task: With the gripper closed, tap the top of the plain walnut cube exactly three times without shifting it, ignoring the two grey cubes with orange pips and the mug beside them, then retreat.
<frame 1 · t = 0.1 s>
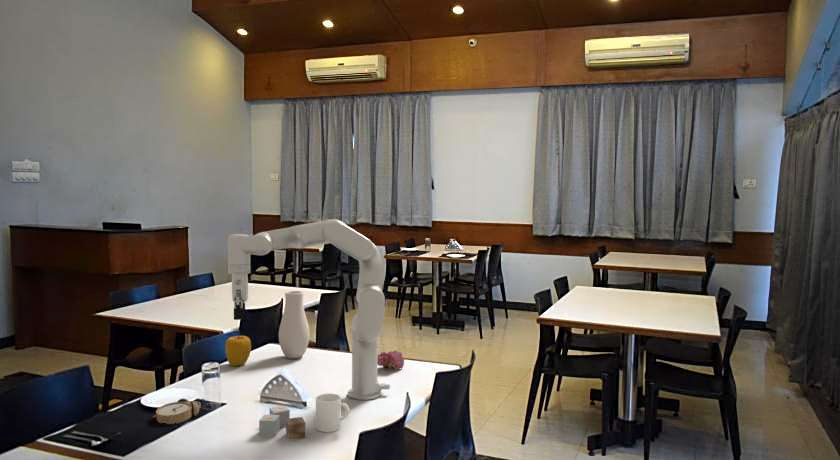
hand: (239, 316, 215), 31 cm above the table, fingers open, 9 cm apart
block one: (269, 433, 191), on the table
alarm clock: (179, 417, 203), on the table
apple: (238, 365, 263), on the table
block two: (279, 424, 198), on the table
flower: (389, 369, 261), on the table
plain block: (295, 436, 188), on the table
mug: (333, 429, 195), on the table
vase: (294, 357, 276), on the table
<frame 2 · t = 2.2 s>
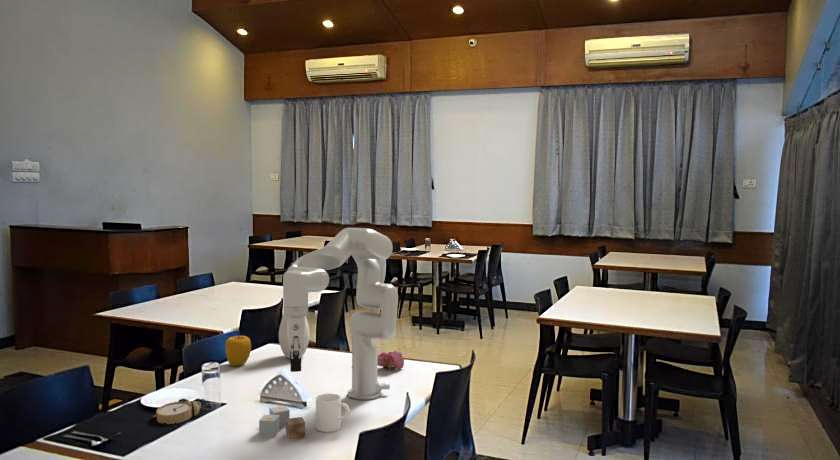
hand: (295, 367, 187), 22 cm above the table, fingers open, 7 cm apart
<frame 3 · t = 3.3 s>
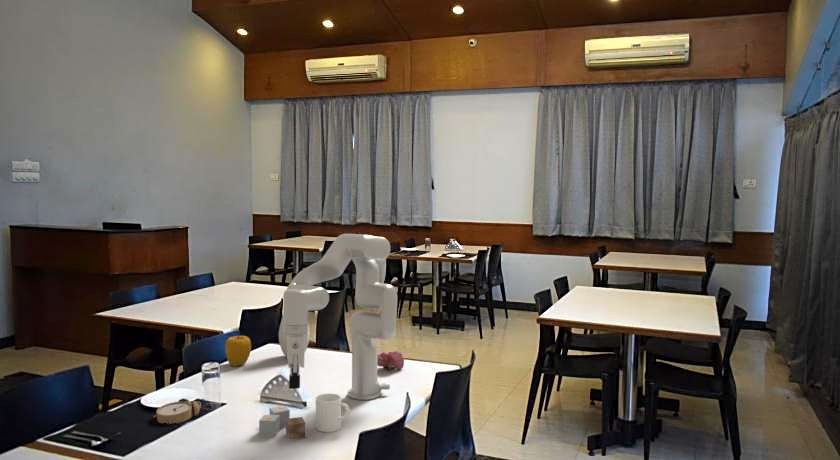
hand: (294, 387, 187), 16 cm above the table, fingers closed
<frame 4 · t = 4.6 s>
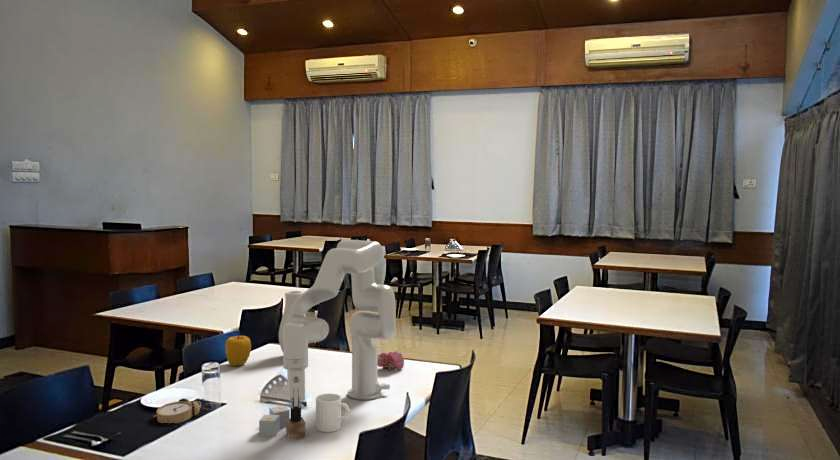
hand: (295, 419, 188), 5 cm above the table, fingers closed
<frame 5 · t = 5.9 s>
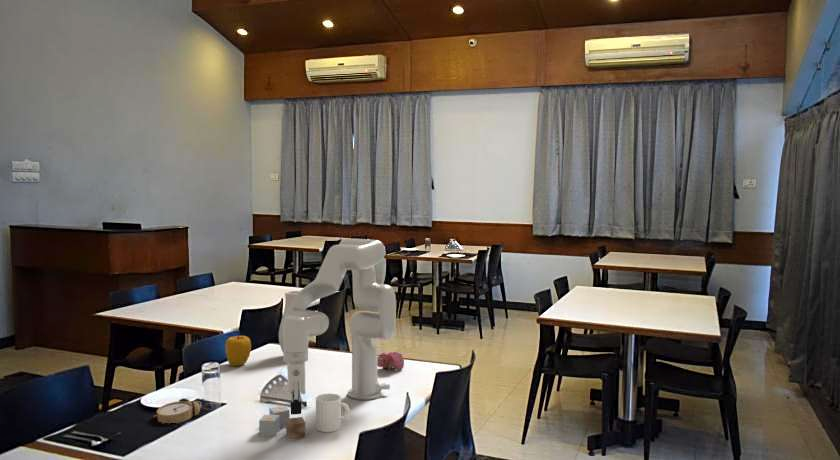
hand: (296, 413, 188), 7 cm above the table, fingers closed
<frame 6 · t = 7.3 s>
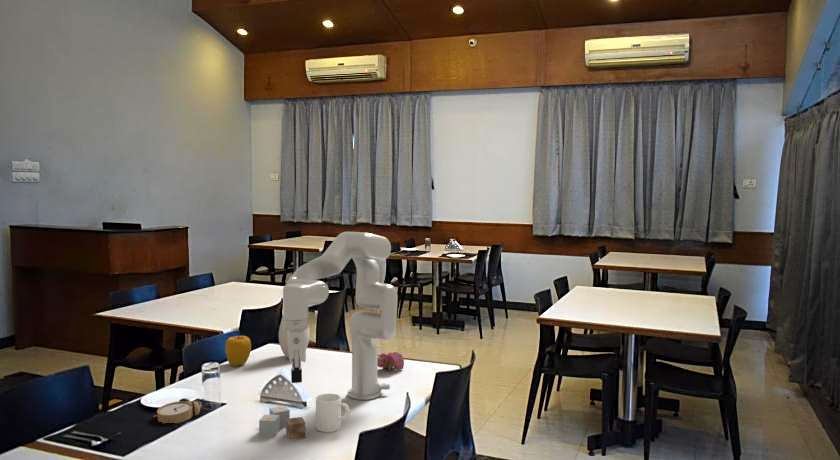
hand: (296, 381, 188), 17 cm above the table, fingers closed
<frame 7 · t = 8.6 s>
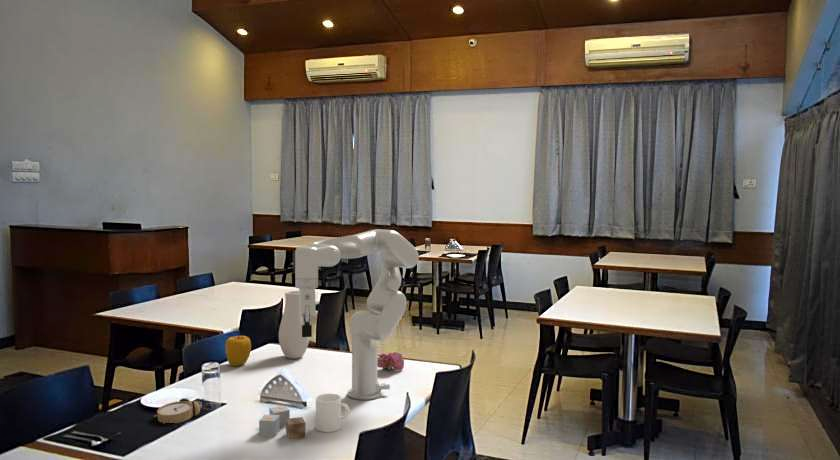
hand: (306, 336, 205), 27 cm above the table, fingers closed
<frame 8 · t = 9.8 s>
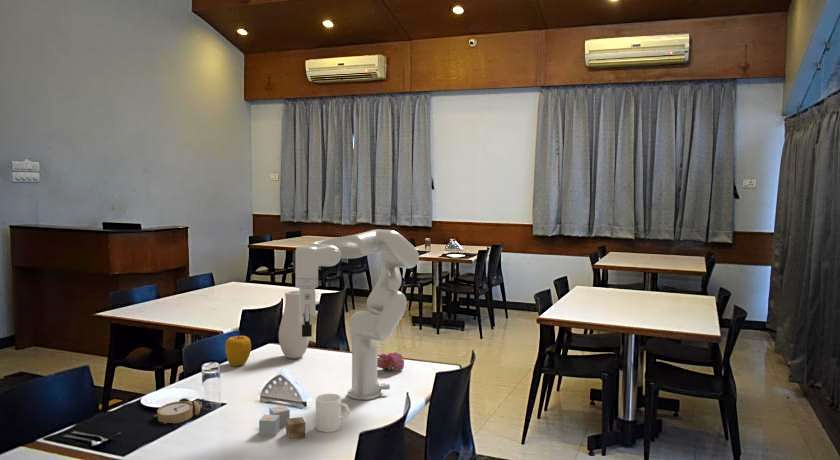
hand: (306, 336, 205), 27 cm above the table, fingers closed
at the end: plain block moved 0.1 cm from its start; plain block tilted 0°; block two moved 0.1 cm from its start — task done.
